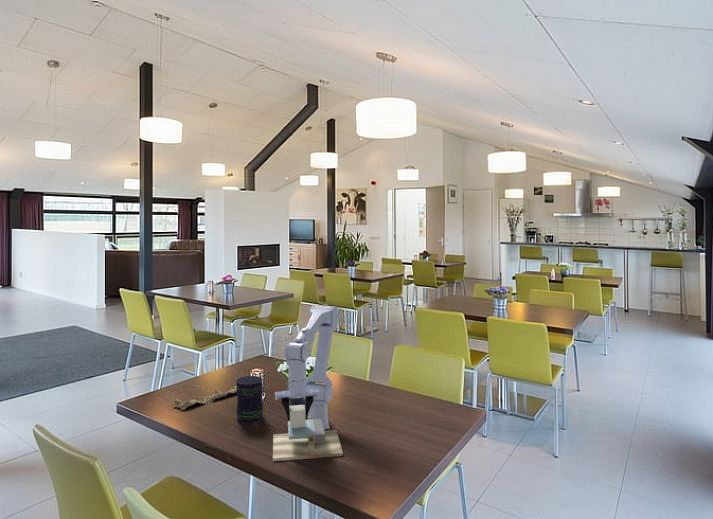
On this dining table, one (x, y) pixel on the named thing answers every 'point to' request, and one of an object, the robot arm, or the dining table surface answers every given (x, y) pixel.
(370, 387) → the dining table surface
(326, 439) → the beige slab
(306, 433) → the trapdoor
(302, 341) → the robot arm
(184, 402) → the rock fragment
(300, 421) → the limestone block
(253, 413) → the storage jar
